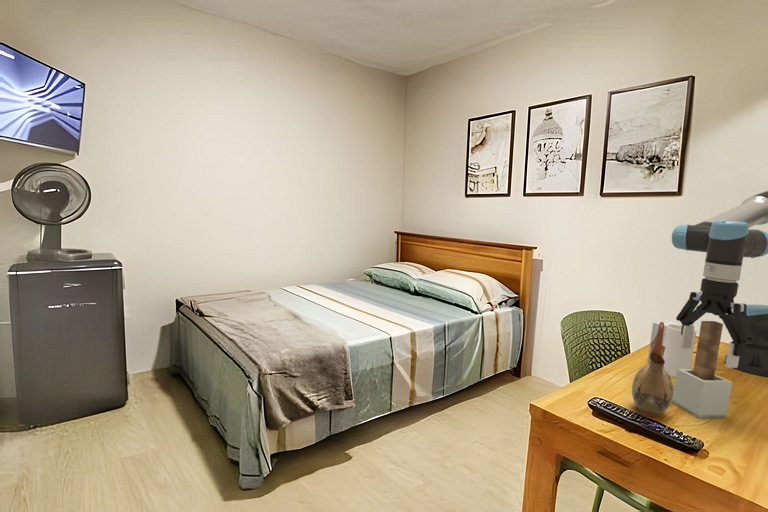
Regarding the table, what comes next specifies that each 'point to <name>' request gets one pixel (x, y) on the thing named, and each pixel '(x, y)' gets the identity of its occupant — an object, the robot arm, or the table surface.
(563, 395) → the table surface
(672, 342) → the cup
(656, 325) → the skincare box
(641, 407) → the ceramic vessel
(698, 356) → the brown wooden plank
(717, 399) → the white square tube
